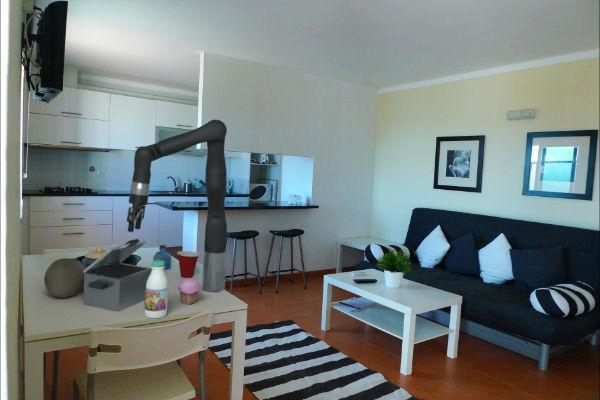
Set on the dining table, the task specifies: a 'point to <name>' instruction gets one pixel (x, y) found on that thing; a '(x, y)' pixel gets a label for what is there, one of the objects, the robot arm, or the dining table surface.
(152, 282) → the milk bottle
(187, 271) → the plastic cup
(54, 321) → the dining table surface
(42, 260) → the dining table surface
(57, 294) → the cantaloupe
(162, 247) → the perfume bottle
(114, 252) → the box lid
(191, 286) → the cupcake
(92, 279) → the grey storage box
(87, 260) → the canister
